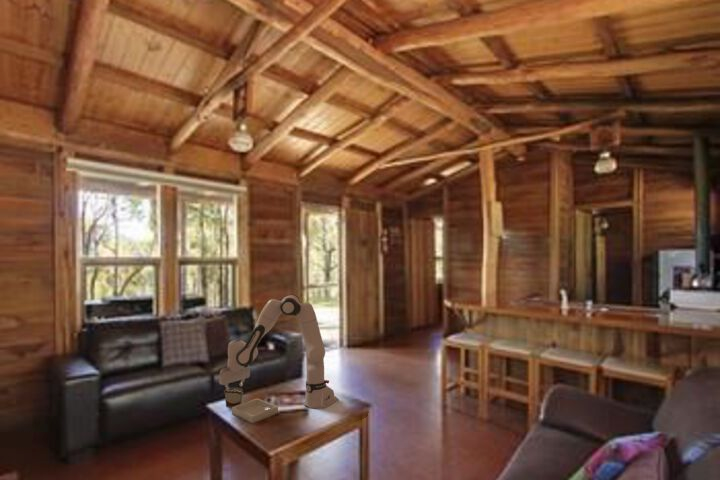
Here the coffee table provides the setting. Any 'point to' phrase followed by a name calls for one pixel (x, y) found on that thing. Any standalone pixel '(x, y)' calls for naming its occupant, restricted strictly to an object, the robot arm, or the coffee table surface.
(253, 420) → the tray
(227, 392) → the food container
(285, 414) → the coffee table surface
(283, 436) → the coffee table surface
